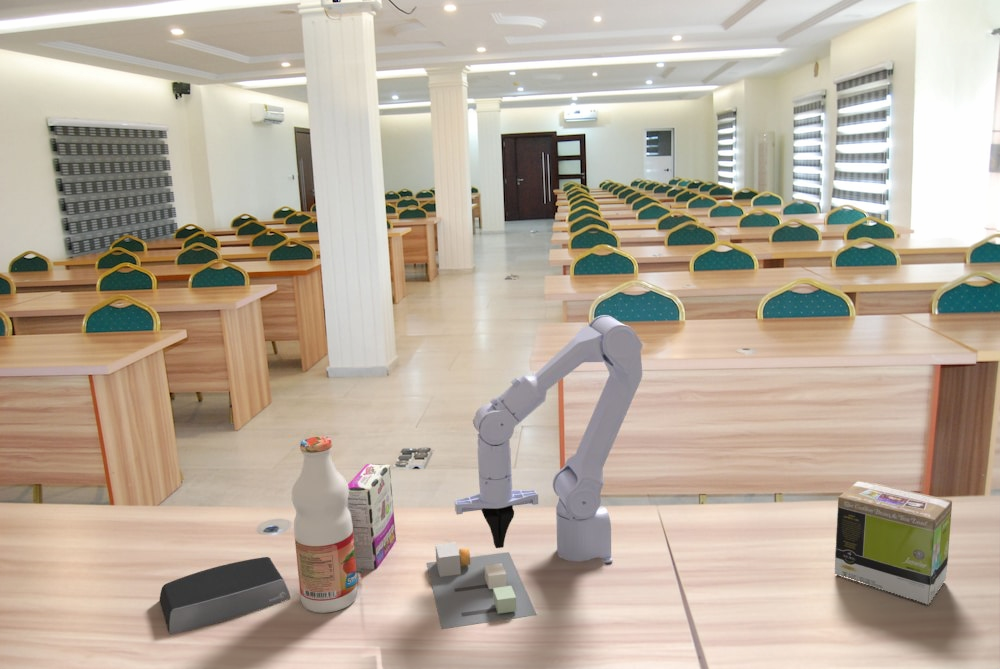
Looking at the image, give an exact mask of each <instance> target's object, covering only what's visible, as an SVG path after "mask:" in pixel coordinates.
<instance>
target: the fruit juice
mask: <svg viewBox="0 0 1000 669" xmlns="http://www.w3.org/2000/svg"><path fill="white" fill-rule="evenodd" d="M299 447H300V453H301V454H302V455H303V457H302V458H303V460H302V466H301V471H300V474H299V476H298V477H297V479H296V480H295V482H294V484H293V486H292V489H291V501H292V505H293V508H294V509H295V517H294V520H293V535H294V536H293V537H294V544H295V555H296V565H297V572H298V573H297V574H298V584H299V593H300V601H301V604H302V606H303V607H304V608H305V609H306V610H307V611H310V612H313V613H321V614H326V613H333V612H336V611H337V612H339V611H341V610H343V609H345V608H347V607H349V606H351V605H352V604H353V603H354V601H355V600H356V599H357V596H358V590H359V589H358V577H357V572H356V561H355V549H354V537H353V524H352V517H351V513H350V511H349V509H348V507H347V502H348V497H349V488H348V484H349V483H348V482H347V480H346V478H345V477H344V476H343V475H342V474H341V472H339V471H338V470H337V468H336V466H335V464H334V461H333V459H332V458H333V457H332V455H331V451H332V449H333V444H332V438H330V437H328V436H323V435H320V436H319V435H317V436H311V437H310V436H309V437H307V438H305V439H303V440H301V441H300V444H299Z"/></svg>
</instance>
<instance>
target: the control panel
mask: <svg viewBox="0 0 1000 669" xmlns="http://www.w3.org/2000/svg"><path fill="white" fill-rule="evenodd" d="M434 547H435V560H436V561H431V562H426V565H427V570H428V575H429V579H430V582H431V583H430V584H431V587H432V591H433V596H434V600H435V605H436V609H437V614H438V616H439V622H440V626H441V629H442V630H444V629H449V628H457V627H465V626H472V625H478V624H485V623H486V624H487V623H492V622H498V621H505V620H512V619H521V618H525V617H526V618H527V617H533V616H538V614H537V612H536V609H535V607H534V605H533V602H532V601H531V599H530V596H529V594H528V592H527V589H526V587H525V584H524V583H523V581H522V578H521V577H520V574H519V572H518V570H517V567H516V565H515V563H514V561H513V559H512V556H511V554H510V552H509V551H507V552H499V553H491V554H486V555H485V554H484V555H478V556H470V565H463V566H461V565H460V554H459V548H458V546H457V542H456V541H452V542H442V543H437V544H435V546H434ZM500 563H502V565H503V567H504V570H505V572H506V582H507V586H512V589H513V591H514V593H515V596H516V609H517V611H514V612H507V613H500V614H498V613H497V610H496V607H495V604H494V601H493V589H489V588H488V585H487V582H486V580H485V565H492V564H500Z"/></svg>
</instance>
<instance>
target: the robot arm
mask: <svg viewBox="0 0 1000 669" xmlns="http://www.w3.org/2000/svg"><path fill="white" fill-rule="evenodd" d="M642 349H643V343H642V340H640V338H639V336H638V334H637V332H636V331H635V330H634V328H632V327H631V326H629V325H627V324H624V323H622V322H621V321H619V320H618V319H616V318H614V317H613V316H611V315H608V314H602V315H599V316H596V317H595V318H593V319H592V320H591V321H590V322H589V324H587V325H585V326H583V327H582V328H580V330H579V331H578V332H577V333H576V334H575V336H574V337H573V338H572V339H571V340H570V341H568V343H567V344H566V345H565V346H564V347H563V348H561V350H559V351H558V352H557V353H556V354H555V355H554V356H553V357H552V358H551V359H550V360H548V362H547V363H546V364H544V365H543V367H541V368H540V369H539V370H538V371H537V372H536V373H535V374H534V375H522V376H521V377H520V378H518V377H515V378H513V379H512V380H511V381H510V383H511V384H512V385H511V386H509V387H508V388H506V390H505V391H503V393H501V394H500V395H499V396H498V397H497V398H496V397H493V398H492V399H490V401H489V402H490V403H488V404H487V403H486V404H484V405H483V404H482V405H481V407H479V408H478V409H477V410H476V412H475V415H474V417H473V419H472V424H473V427H474V429H475V430H476V431H477V432H478V433H477V464H478V480H479V482H478V483H479V486H478V487H479V493H478V494H474V495H470V496H468V497H463V498H459V499H458V498H457V499H454V511H455V514H456V515H457V516H458V515H462V514H463V513H466V512H474V511H481V512H482V515H483V518H484V519H485V521H486V523H487V525H488V526H489V529H490V533H491V535H492V540H493V545H494V547H495V548H496V549H502V548H504V547H505V540H506V539H505V538H506V536H507V532H508V529H509V527H510V524H511V522H512V521H513V519H514V517H515V516H514V515H515V510H514V506H522V505H533V506H534V505H539V493H538V492H537V491H536V489H532V490H526V489H525V490H524V489H523V490H521V489H519V490H515V489H513V476H512V475H513V473H512V454H511V453H512V452H511V449H512V448H511V446H510V445H511V444H510V439H511V438H512V437H513V434H514V430H515V427H516V426H517V425H519V424H521V422H522V421H524V420H525V419H526V418H527V417H529V415H530V414H532V413H533V412H534V411H535V410H536V409H537V408H538V407H540V406H541V405H542V404H543V403H545V402H546V398H547V392H548V390H549V389H552V387H553V386H555V385H556V384H558V383H559V382H560V381H561V380H563V379H564V378H565V377H566V376H568V375H569V374H570V373H572V372H573V371H574V370H576V369H577V368H578V367H579V366H581V365H582V364H584V363H604V365H605V366H606V369H607V371H608V373H609V375H608V378H607V380H606V382H605V385H604V387H603V390H602V391H601V394H600V396H599V398H598V401H597V403H596V406H595V408H594V410H593V413H592V415H591V417H590V420H589V421H588V424H587V426H586V429H585V431H584V433H583V436H582V438H581V441H580V443H579V445H578V447H577V450H576V451H575V453H574V455H573V454H572V455H571V456H569V457H568V458H567V459H566V462H565V464H564V466H563V467H562V468H561V469H559V471H558V472H556V473H555V475H554V478H553V480H552V488H553V492H554V493H555V495H556V496H557V497H558V501H557V504H556V507H555V509H556V510H555V513H556V553H557V555H558V557H560V558H561V559H563V560H566V561H569V562H587V561H589V560H593V559H595V558H597V559H598V558H601V560H602V561H603V563H605V564H608V563H612V562H613V558H612V524H611V518H610V515H609V512H608V510H607V508H606V507H605V506H601V501H602V500H601V492H602V489H603V487H604V482H605V481H604V467H605V466H604V465H605V464H606V461H607V459H608V457H609V454H610V452H611V450H612V448H613V445H614V442H615V441H616V438H617V436H618V434H619V431H620V429H621V426H622V425H623V422H624V420H625V418H626V415H627V412H628V411H629V408H630V406H631V404H632V401H633V400H634V397H635V395H636V392H637V390H638V387H639V386H640V383H641V381H642V378H643V367H642V365H643V364H642V355H641V351H642Z"/></svg>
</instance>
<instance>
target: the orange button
mask: <svg viewBox="0 0 1000 669" xmlns="http://www.w3.org/2000/svg"><path fill="white" fill-rule="evenodd" d="M458 551H459V554H460V565H461V566H463V565H470V557H471V554H470V549H469V548H468V547H467V548H466V547H465V548H460V549H459V548H458Z"/></svg>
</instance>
